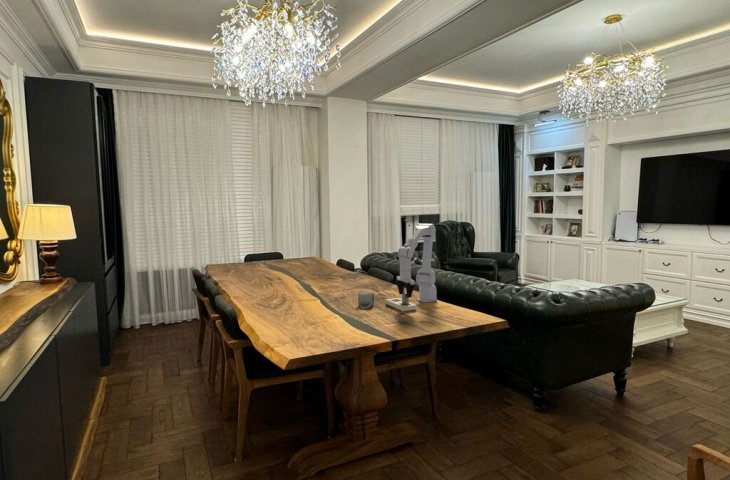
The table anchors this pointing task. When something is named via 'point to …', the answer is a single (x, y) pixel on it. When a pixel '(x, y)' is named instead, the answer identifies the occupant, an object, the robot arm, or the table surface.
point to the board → (400, 305)
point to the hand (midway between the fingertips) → (405, 295)
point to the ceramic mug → (366, 300)
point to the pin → (405, 299)
